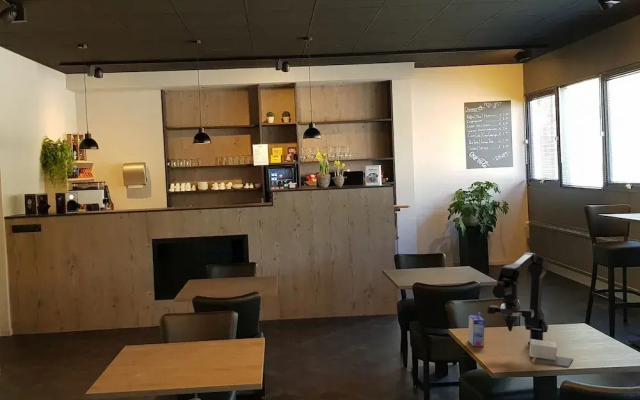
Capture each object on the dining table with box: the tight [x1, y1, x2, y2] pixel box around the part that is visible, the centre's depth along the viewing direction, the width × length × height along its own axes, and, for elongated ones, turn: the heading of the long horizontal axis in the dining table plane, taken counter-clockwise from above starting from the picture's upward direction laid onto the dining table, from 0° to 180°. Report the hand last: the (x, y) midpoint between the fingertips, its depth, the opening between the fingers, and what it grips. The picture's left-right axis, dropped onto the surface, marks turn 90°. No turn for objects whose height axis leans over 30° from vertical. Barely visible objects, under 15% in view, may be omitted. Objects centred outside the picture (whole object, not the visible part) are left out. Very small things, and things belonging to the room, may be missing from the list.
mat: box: [531, 355, 574, 368], centre depth 249 cm, size 12×14×1 cm
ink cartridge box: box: [467, 311, 485, 347], centre depth 276 cm, size 10×6×14 cm, turn 178°
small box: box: [529, 339, 558, 361], centre depth 253 cm, size 8×6×10 cm
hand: (510, 331), depth 258 cm, fingers closed
